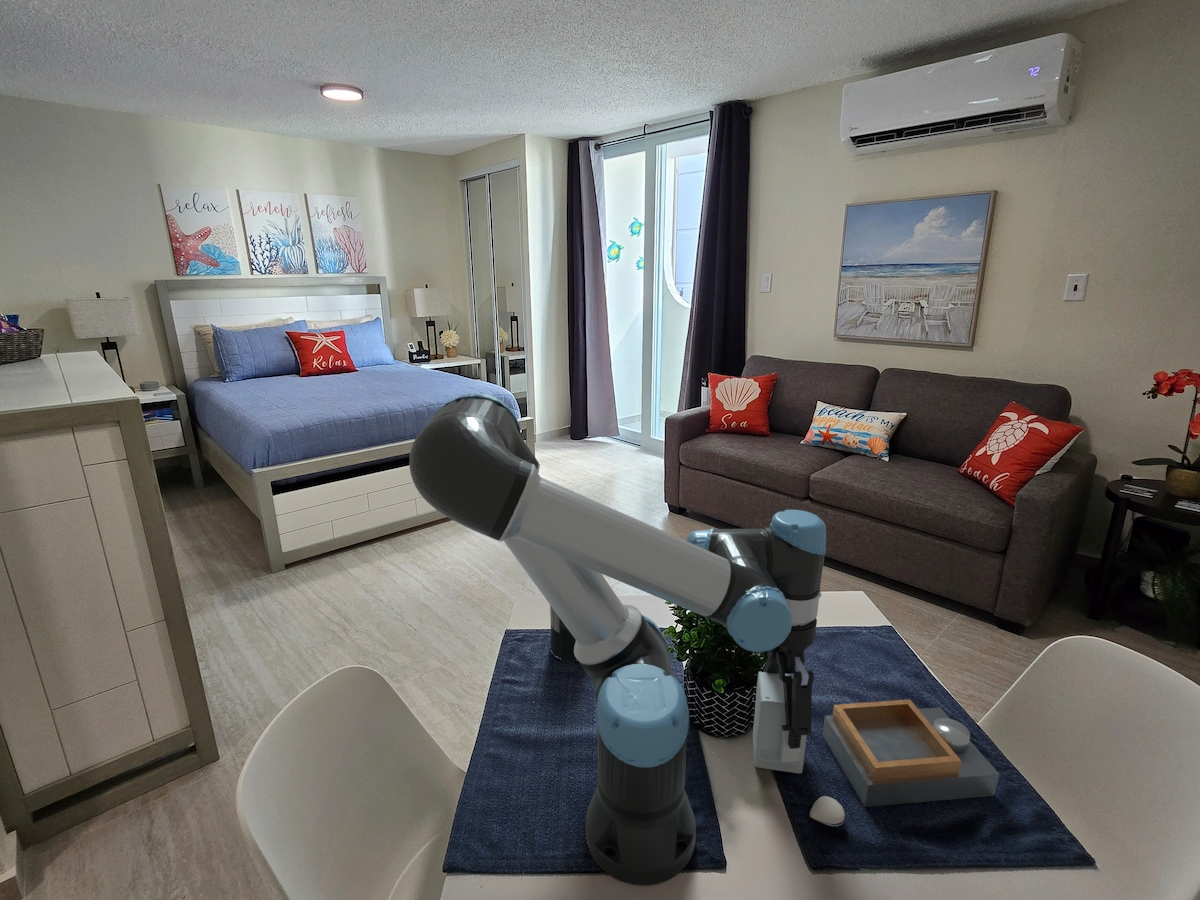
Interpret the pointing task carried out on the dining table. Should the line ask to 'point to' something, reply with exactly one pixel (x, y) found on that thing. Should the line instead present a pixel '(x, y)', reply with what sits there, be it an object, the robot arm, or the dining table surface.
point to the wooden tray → (906, 754)
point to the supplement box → (772, 726)
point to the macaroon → (827, 811)
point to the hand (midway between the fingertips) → (778, 737)
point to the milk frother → (561, 639)
